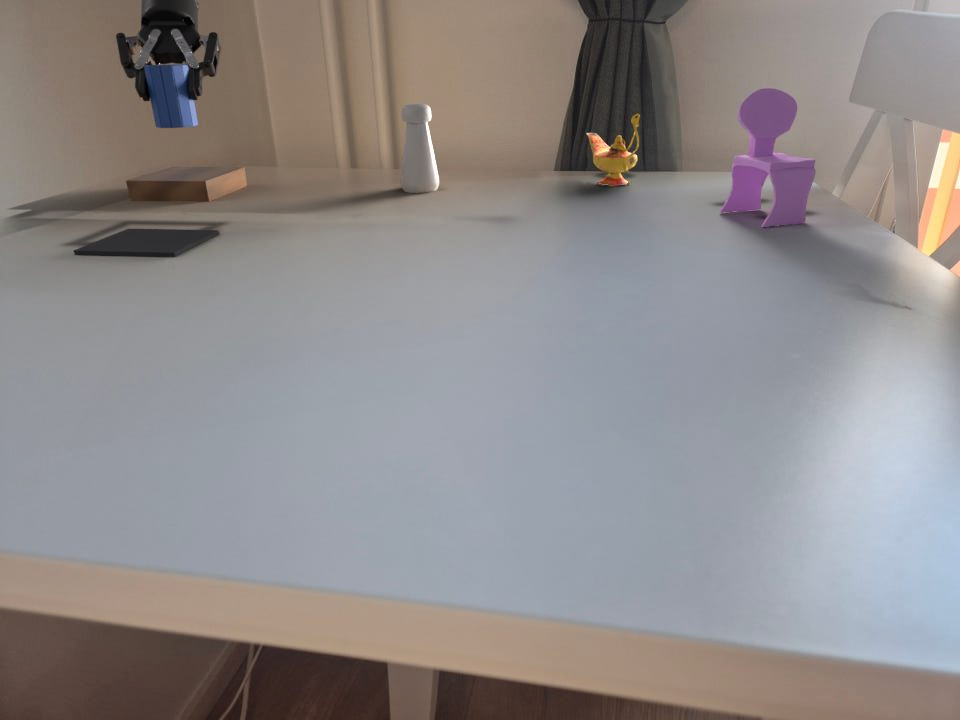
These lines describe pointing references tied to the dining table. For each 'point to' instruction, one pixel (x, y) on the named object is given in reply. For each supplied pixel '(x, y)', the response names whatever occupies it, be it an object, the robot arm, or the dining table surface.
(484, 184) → the dining table surface
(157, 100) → the blue faceted cup
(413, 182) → the salt shaker
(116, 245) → the mat
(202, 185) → the platform
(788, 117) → the toy chair
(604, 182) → the magic lamp
